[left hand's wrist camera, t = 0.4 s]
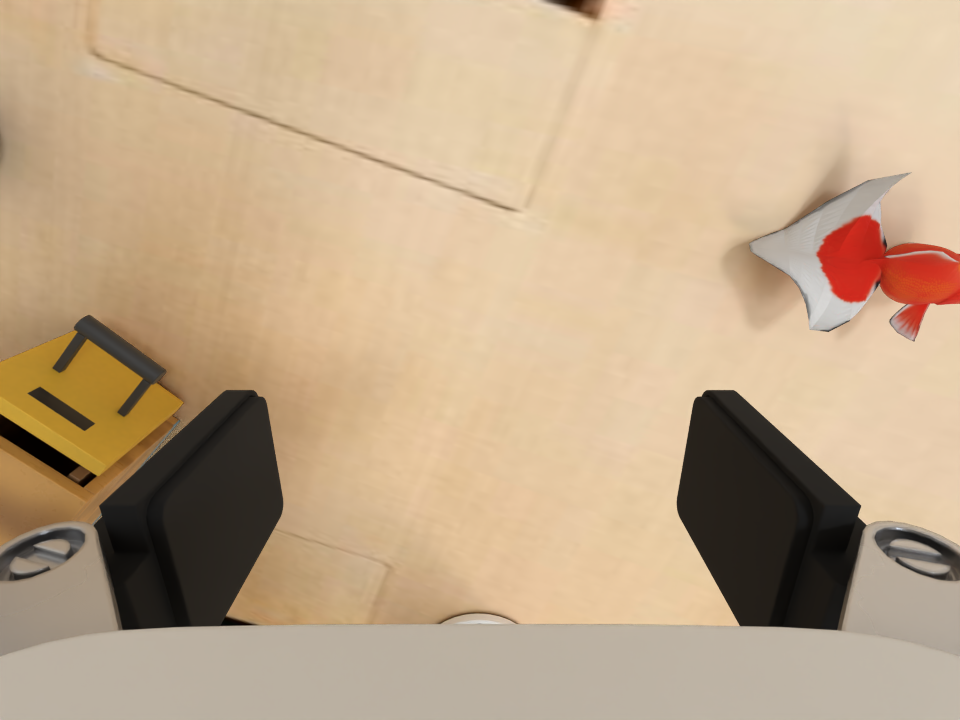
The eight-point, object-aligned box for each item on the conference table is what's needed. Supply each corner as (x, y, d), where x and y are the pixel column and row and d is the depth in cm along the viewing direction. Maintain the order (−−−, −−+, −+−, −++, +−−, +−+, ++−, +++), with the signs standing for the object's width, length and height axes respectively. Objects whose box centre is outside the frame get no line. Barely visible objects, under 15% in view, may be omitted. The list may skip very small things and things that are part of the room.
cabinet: (66, 340, 43) (-75, 402, 32) (180, 420, 46) (86, 502, 35) (-39, 491, 48) (-190, 588, 37) (68, 554, 51) (-43, 661, 40)
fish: (903, 395, 39) (1000, 384, 30) (710, 303, 44) (740, 267, 34) (973, 275, 39) (1093, 224, 30) (773, 194, 44) (821, 127, 34)
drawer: (112, 282, 40) (3, 318, 31) (217, 361, 43) (146, 417, 33) (-25, 476, 47) (-147, 553, 38) (74, 535, 49) (-19, 621, 40)
